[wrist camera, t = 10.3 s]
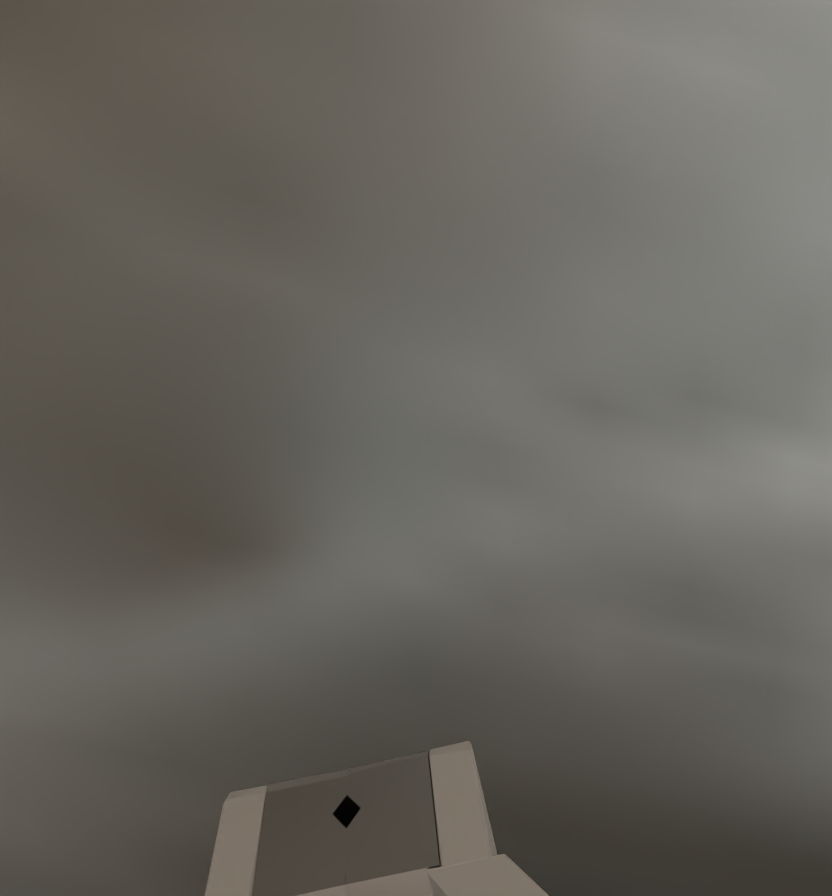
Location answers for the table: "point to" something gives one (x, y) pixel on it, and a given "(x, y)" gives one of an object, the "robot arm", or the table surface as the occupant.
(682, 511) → the table surface
